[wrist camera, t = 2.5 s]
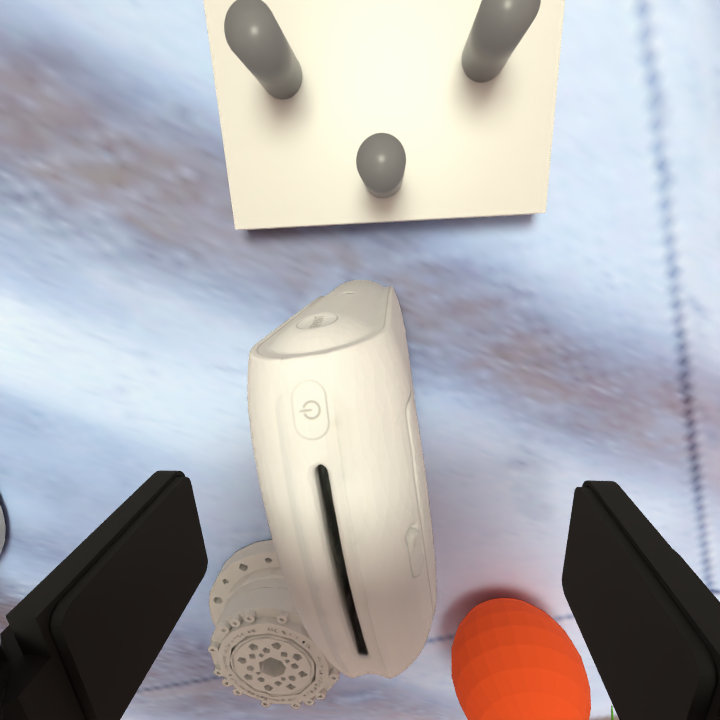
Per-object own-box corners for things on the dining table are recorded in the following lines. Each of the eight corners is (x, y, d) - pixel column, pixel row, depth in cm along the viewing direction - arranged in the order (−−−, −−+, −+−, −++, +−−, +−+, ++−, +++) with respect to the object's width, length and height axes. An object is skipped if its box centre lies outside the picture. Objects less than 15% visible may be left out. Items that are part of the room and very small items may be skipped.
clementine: (587, 579, 23) (669, 723, 16) (561, 662, 25) (623, 820, 18) (451, 563, 23) (475, 697, 16) (436, 645, 25) (452, 794, 19)
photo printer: (310, 283, 19) (173, 362, 7) (398, 270, 18) (408, 331, 6) (346, 466, 22) (291, 735, 10) (422, 458, 21) (459, 734, 9)
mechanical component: (278, 668, 28) (396, 620, 25) (257, 745, 23) (397, 696, 21) (188, 572, 25) (309, 510, 23) (148, 638, 21) (290, 571, 19)
